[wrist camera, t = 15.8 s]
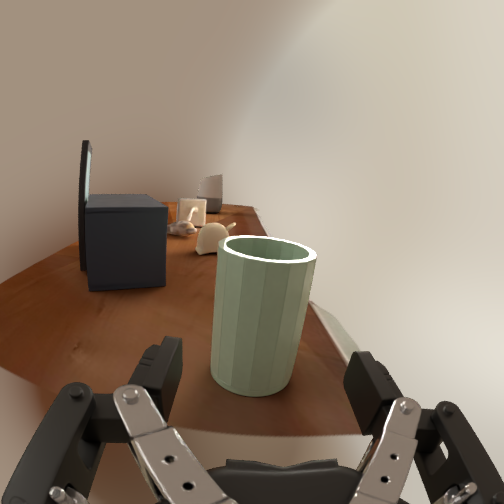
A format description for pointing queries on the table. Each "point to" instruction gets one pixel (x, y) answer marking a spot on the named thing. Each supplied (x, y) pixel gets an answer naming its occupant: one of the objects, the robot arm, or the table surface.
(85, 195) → the glass door
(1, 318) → the table surface
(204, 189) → the smart speaker
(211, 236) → the decorative ornament
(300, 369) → the table surface
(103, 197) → the cabinet
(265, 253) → the cup
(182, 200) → the decorative sculpture
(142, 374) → the robot arm
